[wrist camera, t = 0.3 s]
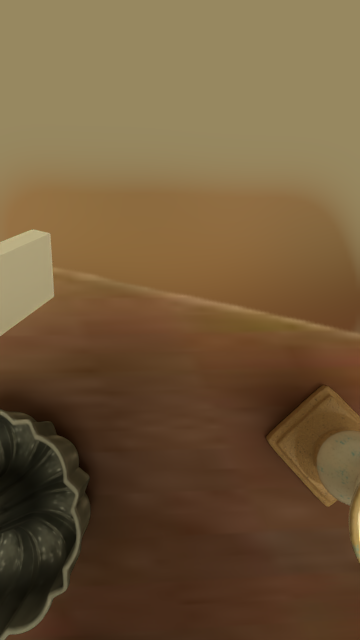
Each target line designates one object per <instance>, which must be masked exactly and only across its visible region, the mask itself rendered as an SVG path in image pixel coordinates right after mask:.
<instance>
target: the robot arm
mask: <svg viewBox="0 0 360 640" xmlns="http://www.w3.org/2000/svg"><path fill="white" fill-rule="evenodd" d="M53 297H54V285H53V269H52V253H51V237H50V233H46V232H42V231H38V230H33V229H32V230H30V231H27V232H25V233H22V234H19V235H17V236H14V237H12V238H9V239H7V240H4V241H2V242H0V336H1V335H2V334H4V333H5V332H6V331H8V330H9V329H11V328H12V327H13V326H15V325H16V324H17V323H19V322H20V321H21V320H23V319H24V318H26V317H27V316H28V315H30V314H31V313H32V312H34V311H35V310H36V309H38V308H39V307H41V306H42V305H43V304H45V303H46V302H47V301H49V300H50V299H52V298H53Z"/></svg>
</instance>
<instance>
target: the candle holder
mask: <svg viewBox="0 0 360 640" xmlns="http://www.w3.org/2000/svg"><path fill="white" fill-rule="evenodd" d="M266 439H267V441H268V443H269V444H270V445H271V447H272V448H273V449H274V450H275V452H276V453H277V454H278V455H279V456H280V457H281V458H282V459H283V460H284V462H285V463H286V464H287V465H288V466H289V467H290V468H291V469H292V470H293V472H294V473H295V474H296V475H297V476H298V477H299V478H300V479H301V480H302V481H303V483H304V484H305V485H306V486H307V487H308V488H309V489H310V490H311V491H312V493H313V494H314V495H315V496H316V497H317V498H318V499H319V500H320V501H321V502H322V503H323V504H324V505H326V506H327V507H329V506H331V505H332V504H333V503H335V502H336V501H337V500H339V501H340V502H342V503H344V504H347V505H350V509H349V521H348V522H349V534H350V539H351V543H352V547H353V550H354V553H355V555H356V558H357V560H358V562H359V564H360V417H359V416H358V415H357V414H356V412H355V411H354V410H353V409H352V408H351V407H350V406H349V405H348V404H347V403H346V402H345V401H344V400H343V399H342V398H341V397H340V396H339V395H338V394H337V393H336V392H334V391H333V390H332V389H331V388H330V387H328V386H326V385H322V386H321V387H319V388H318V389H317V390H316V391H315V392H313V393H312V394H311V395H310V396H309V397H308V398H307V399H306V400H305V401H303V402H302V403H301V404H300V405H299V406H298V407H297V408H296V409H295V410H294V411H292V412H291V413H290V414H289V415H288V416H287V417H286V418H285V419H284V420H283V421H282V422H280V423H279V424H278V425H277V426H276V427H275V428H274V429H273V430H272V431H271V432H270V433H269V434H268V435H267V437H266Z"/></svg>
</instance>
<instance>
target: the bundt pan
mask: <svg viewBox="0 0 360 640" xmlns="http://www.w3.org/2000/svg"><path fill="white" fill-rule="evenodd" d="M89 479H90V477H89V475H88V474H87V473H86V472H84V471H83V470H82V469H81V468H79V456H78V452H77V450H76V448H75V446H74V445H73V444H72V443H71V442H70V441H69V440H68V439H66V438H64V437H62V436H58V435H57V434H56V430H55V427H54V425H53V423H52V422H50V421H44V422H36V420H35V419H33V418H32V417H31V416H29V415H27V414H25V413H22V412H9V411H4V410H2V409H0V640H5V639H6V638H7V636H8V635H10V634H12V635H14V634H21V633H24V632H27V631H29V630H31V629H32V628H34V627H35V626H36V625H37V624H39V623H40V621H41V620H42V619H43V618H44V616H45V615H46V613H47V612H48V610H49V608H50V606H51V604H52V601H53V598H54V597H56V596H58V595H60V594H62V593H63V592H65V591H66V589H67V588H68V586H69V583H70V574H71V572H72V570H73V568H74V565H75V563H76V561H77V559H78V556H79V554H80V551H81V541H82V536H83V534H84V532H85V530H86V528H87V525H88V522H89V519H90V512H91V508H90V502H89V499H88V496H87V495H86V493H85V490H86V488H87V485H88V482H89Z"/></svg>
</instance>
